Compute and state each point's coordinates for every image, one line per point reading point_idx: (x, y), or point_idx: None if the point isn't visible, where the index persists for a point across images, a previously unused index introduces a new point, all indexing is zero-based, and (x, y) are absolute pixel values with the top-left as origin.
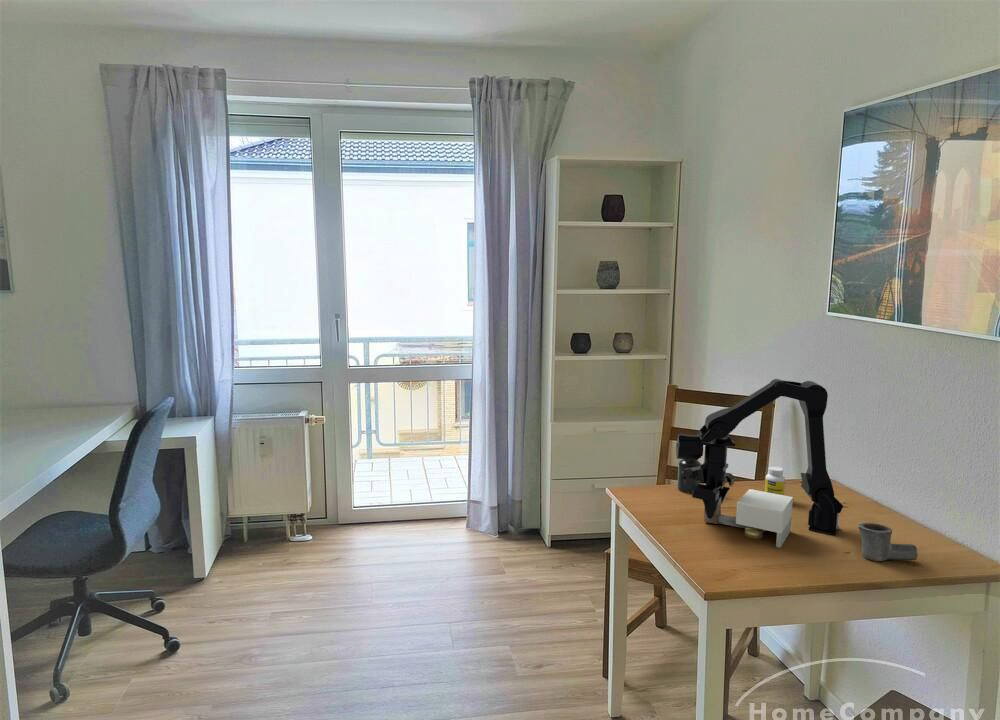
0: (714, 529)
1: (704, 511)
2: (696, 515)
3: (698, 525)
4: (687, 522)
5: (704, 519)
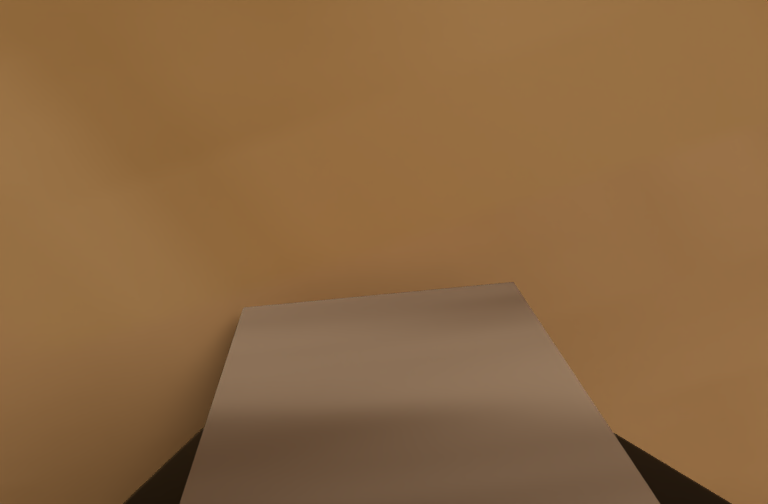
0: (107, 493)
1: (208, 425)
2: (554, 53)
3: (79, 252)
4: (67, 24)
5: (239, 332)
